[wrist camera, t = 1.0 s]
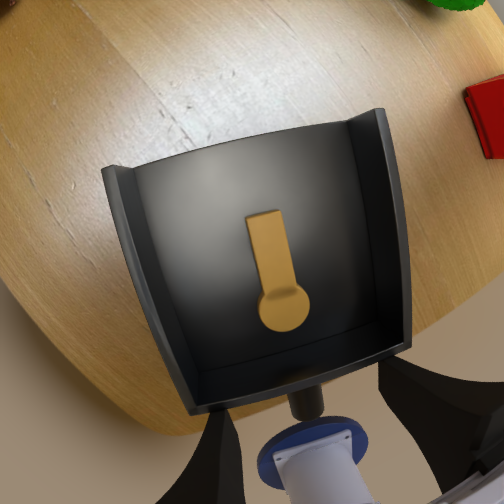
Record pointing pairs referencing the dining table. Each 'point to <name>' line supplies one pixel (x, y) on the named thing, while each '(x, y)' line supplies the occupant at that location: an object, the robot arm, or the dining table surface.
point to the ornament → (457, 4)
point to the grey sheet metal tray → (244, 267)
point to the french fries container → (488, 114)
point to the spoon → (276, 273)
